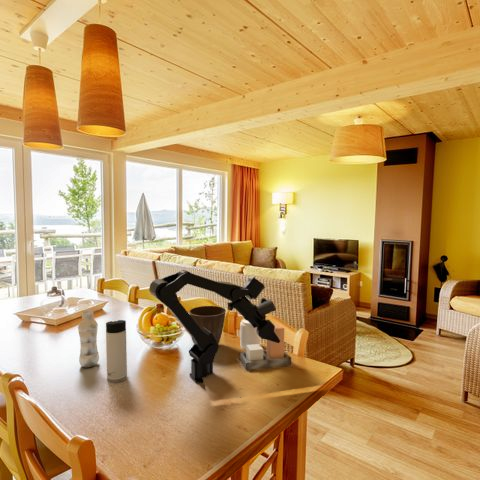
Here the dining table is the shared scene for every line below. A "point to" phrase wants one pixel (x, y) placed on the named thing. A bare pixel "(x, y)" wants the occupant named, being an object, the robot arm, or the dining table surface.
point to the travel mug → (116, 351)
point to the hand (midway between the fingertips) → (275, 337)
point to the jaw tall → (276, 344)
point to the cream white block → (254, 352)
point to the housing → (263, 362)
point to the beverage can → (248, 334)
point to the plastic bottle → (88, 340)
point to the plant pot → (209, 319)
